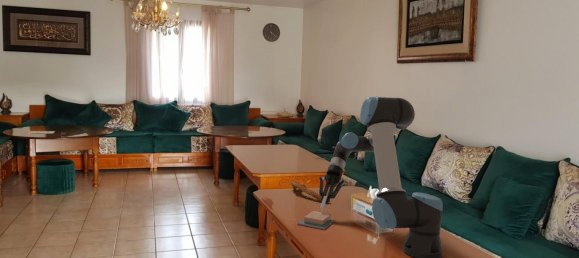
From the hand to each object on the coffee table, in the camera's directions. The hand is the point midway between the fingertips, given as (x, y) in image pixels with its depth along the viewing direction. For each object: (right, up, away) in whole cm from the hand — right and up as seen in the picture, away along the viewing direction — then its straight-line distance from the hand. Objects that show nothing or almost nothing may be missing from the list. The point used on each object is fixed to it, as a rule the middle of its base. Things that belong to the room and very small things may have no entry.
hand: (322, 209), depth 220 cm
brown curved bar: (-5, 0, +40) cm, 41 cm away
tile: (0, -3, 0) cm, 3 cm away
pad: (-3, -5, -6) cm, 9 cm away
